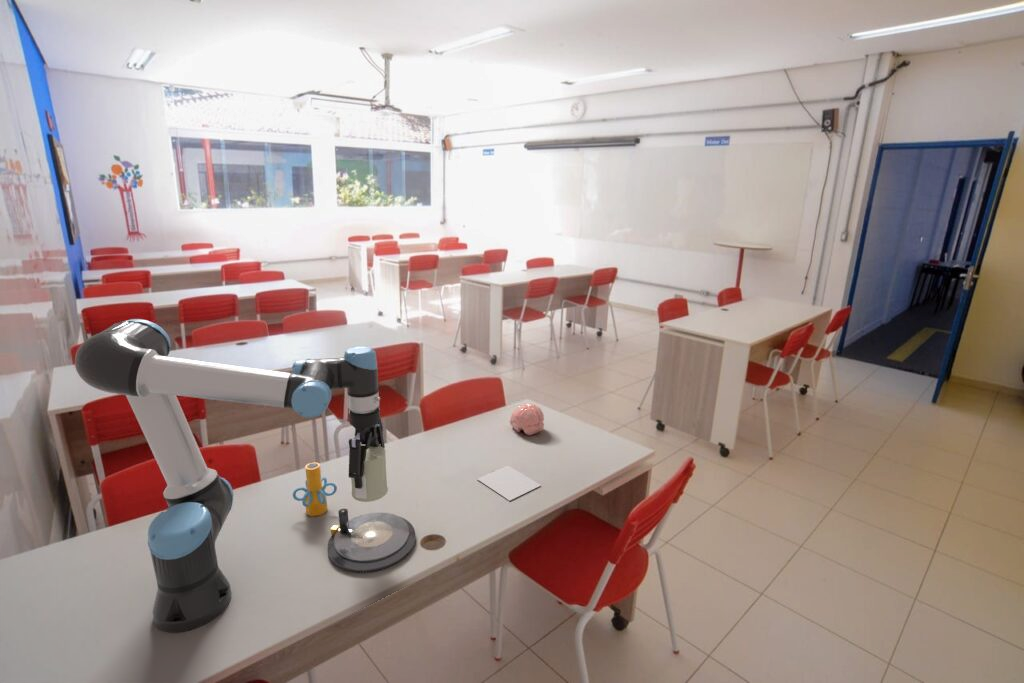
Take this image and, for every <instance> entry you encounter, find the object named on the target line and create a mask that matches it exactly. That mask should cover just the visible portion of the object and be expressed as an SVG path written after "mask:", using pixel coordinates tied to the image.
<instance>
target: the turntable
mask: <svg viewBox="0 0 1024 683" xmlns="http://www.w3.org/2000/svg"><path fill="white" fill-rule="evenodd" d="M401 517H402V516H399V515H396V514H394V513H389V512H370V513H365V514H362V515H359V516H356V517H354V518H352V519H350V520H349V511H348V509H347V508H341V509H339V510H338V522H339V524H338V526H339V527H340V528H339V529H338V531H337V532H336V534H335V537H334V547H335V551H336V553H337V554H338V555H339V556H340V557H341V558H343V559H345V560H347V561H350V562H354V563H372V562H378V561H381V560H384V559H387V558H389V557H391V556H393V555H395V554H396V553H398V552H399V551H400V550H401V549H402V548H403V547H404V546H405V545H406V543H407V541H408V538H409V527H408V525H407V523H406V522H405V521H404V520H403V519H402V518H403V517H402V518H401Z"/></svg>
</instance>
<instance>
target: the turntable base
mask: <svg viewBox="0 0 1024 683" xmlns="http://www.w3.org/2000/svg"><path fill="white" fill-rule="evenodd" d="M400 517H401V518H402V519H403V520H404V521H405V522H406V523H407V525H408V527H409V538H408V541H407V543H406V545H405V546H404V547H403V548H402V549H401V550H400V551H399V552H398V553H396V554H395V555H393V556H391V557H389V558H387V559H384V560H381V561H378V562H372V563H354V562H350V561H347V560H345V559H343V558H341V557H340V556H339V555H338V554H337V553H336V551H335V547H334V537H335V534H336V532H337V531H338V529H339V528H340V526H339V525H333V526H332V527H331V528H330V535H331V536H330V537H329V540H328V543H327V554H328V559H329V561H330V562H331V563H332V564H333V565H334V566H335V567H337V568H338V569H339V570H342V571H344V572H346V573H347V572H348V573H354V574H371V573H378V572H381V571H384V570H387V569H390V568H393V567H394V566H396V565H398V564H400V563H401V562H402V561H404V560H406V558H407V557H408V556H409V555H410V554H411V552H413V550H414V547H415V545H416V531H415V528H414V526H413V525H412V523H411V522H410V521H408V520H407V519H406V518H404V517H402V516H400Z"/></svg>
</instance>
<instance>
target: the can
mask: <svg viewBox="0 0 1024 683" xmlns="http://www.w3.org/2000/svg"><path fill="white" fill-rule="evenodd" d="M363 446H365V445H364V444H363ZM386 451H387V450H386V449H384V448H383V447H381V446H378V447H373V446H369V448H368V449H367V452H366V459H365V461H364V473H363V474H365V477H366V492H367V498H366V499H363V498H356V497H355V483H354V478H351V497H352V498H353V499H354V500H355V501H358V502H364V503H370V502H374V501H378V500H380V499H383V497H385V496H386V495H387V493H388V492H389V490H388V489H389V488H388V480H387V463H386V462H387V460H386V459H387V458H386V453H387V452H386Z"/></svg>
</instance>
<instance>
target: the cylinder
mask: <svg viewBox="0 0 1024 683" xmlns="http://www.w3.org/2000/svg"><path fill="white" fill-rule="evenodd" d="M304 467H305V469H304V470H305V478H306V480H305V487H301V486H300V487H298V488H296V489H295V490H294V491H293V492H292V498H293V499H294V500H296V501H299V502H300V501H302V502H301V503H302V506H303V507H305V512H306V515H308V516H309V517H317V516H321V515H323V514H325V513H326V512H327V511H328V499H327V496H328V497H331V496H333V495H334V494H336V492H337V491H338V488H337V487H338V486H337V485H336V483H333V482H328V481H327V480H328V479H327V478H326V477H324V476H323V477H322V472H321V464H320V463H319V462H309V463H307V464H306V465H305V466H304ZM323 483H324V484H323ZM328 486H332V487H333V491H331V492H327V491H326V488H327V487H328ZM299 491H303V492H304V494H303V496H302V497H298V496H297V495H296V494H297V493H298V492H299Z"/></svg>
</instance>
